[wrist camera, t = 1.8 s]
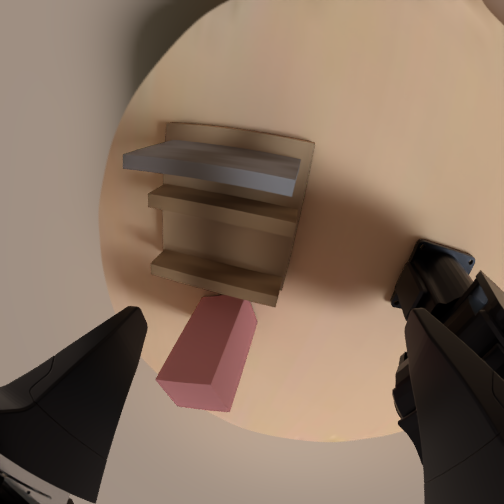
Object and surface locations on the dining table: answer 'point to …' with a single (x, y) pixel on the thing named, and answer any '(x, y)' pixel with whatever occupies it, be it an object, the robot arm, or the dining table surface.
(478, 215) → the dining table surface
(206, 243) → the rack
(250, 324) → the red rectangular block
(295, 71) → the dining table surface
